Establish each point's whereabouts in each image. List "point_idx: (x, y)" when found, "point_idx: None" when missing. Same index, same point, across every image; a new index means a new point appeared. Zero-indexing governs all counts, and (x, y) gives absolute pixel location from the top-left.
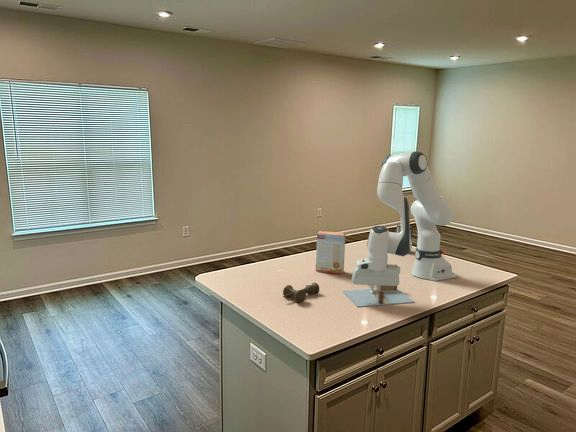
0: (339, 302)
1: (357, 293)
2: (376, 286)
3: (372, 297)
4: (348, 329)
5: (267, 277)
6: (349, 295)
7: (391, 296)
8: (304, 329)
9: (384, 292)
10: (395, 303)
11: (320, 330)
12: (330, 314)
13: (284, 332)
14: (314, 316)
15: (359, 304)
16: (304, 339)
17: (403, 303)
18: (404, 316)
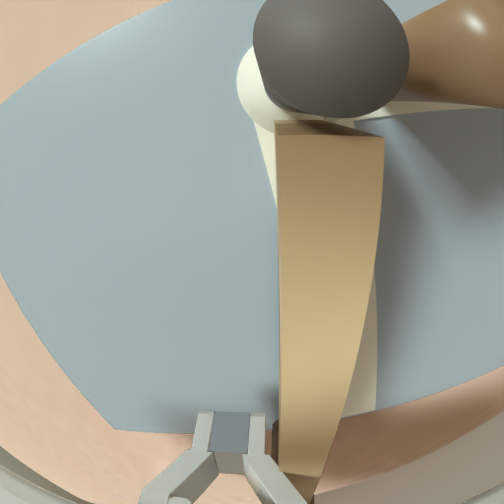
0: (9, 355)
1: (57, 199)
2: (284, 434)
3: (235, 314)
4: (128, 496)
5: None
6: (10, 263)
7: (475, 269)
8: (34, 461)
9: (454, 131)
10: (416, 398)
11: (65, 476)
12: (40, 436)
13: (12, 453)
14: (11, 428)
15: (120, 416)
16: (57, 481)
17: (475, 372)
18: (366, 477)
